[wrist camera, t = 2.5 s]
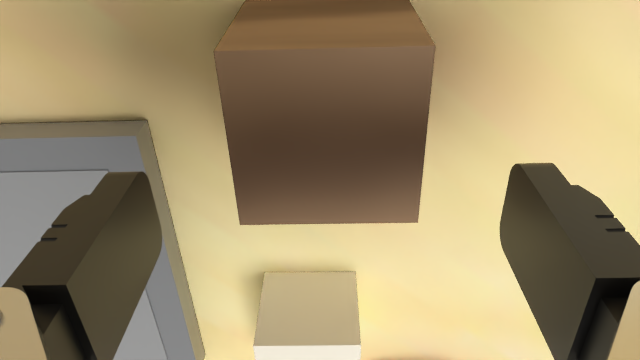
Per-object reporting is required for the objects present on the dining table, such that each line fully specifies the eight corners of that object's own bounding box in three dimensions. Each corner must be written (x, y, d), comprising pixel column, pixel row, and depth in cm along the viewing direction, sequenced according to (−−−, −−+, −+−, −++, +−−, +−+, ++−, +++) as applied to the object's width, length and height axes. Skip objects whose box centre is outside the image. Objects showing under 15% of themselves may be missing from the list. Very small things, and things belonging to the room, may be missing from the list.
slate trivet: (-204, 128, 18) (-237, 145, 17) (147, 120, 17) (135, 136, 16) (-47, 356, 25) (-64, 378, 24) (205, 354, 24) (199, 376, 23)
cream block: (264, 271, 22) (253, 345, 18) (355, 270, 21) (360, 345, 18) (272, 331, 24) (262, 409, 20) (354, 331, 24) (359, 408, 20)
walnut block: (245, -1, 15) (213, 51, 11) (406, -5, 15) (435, 45, 11) (261, 140, 18) (239, 224, 14) (397, 138, 18) (417, 222, 14)
